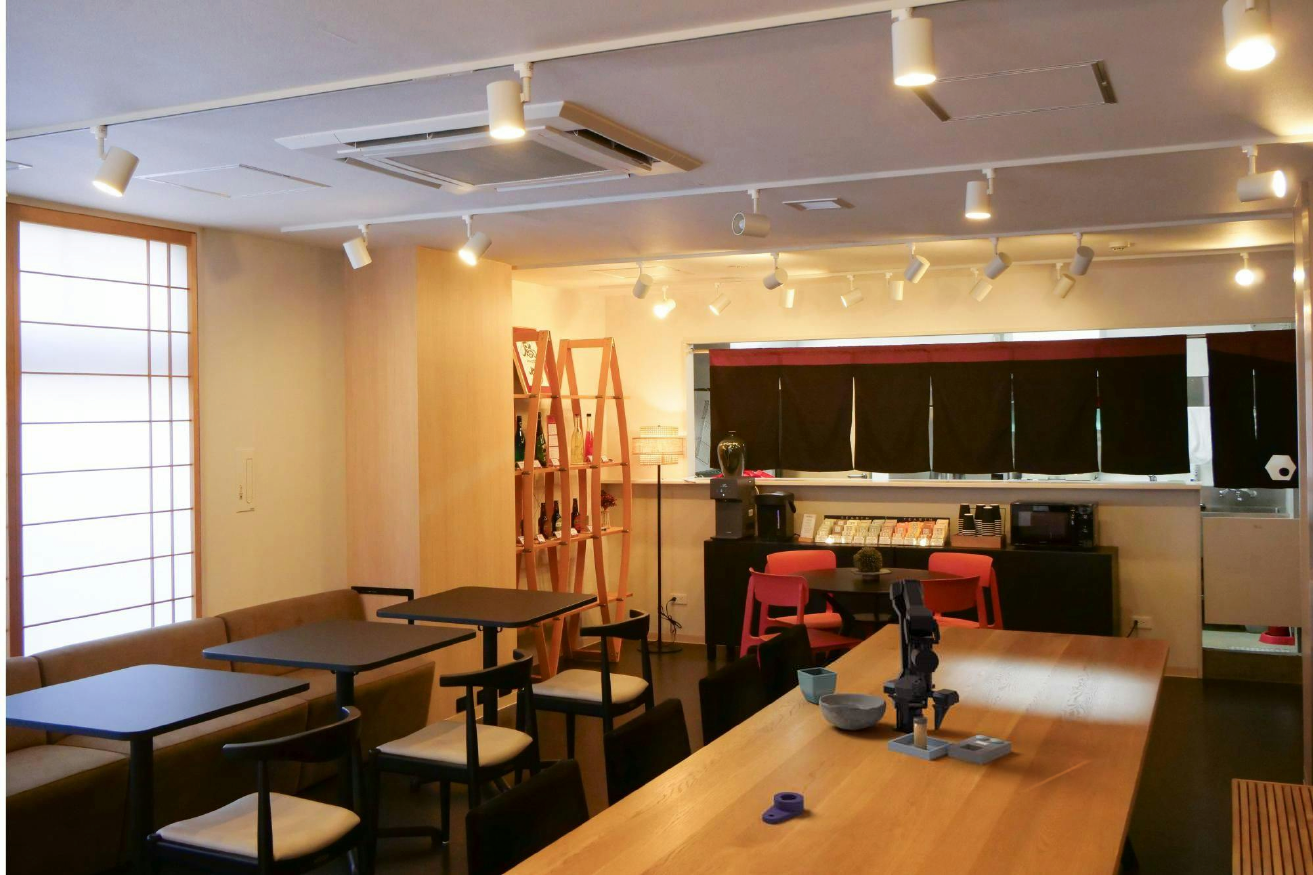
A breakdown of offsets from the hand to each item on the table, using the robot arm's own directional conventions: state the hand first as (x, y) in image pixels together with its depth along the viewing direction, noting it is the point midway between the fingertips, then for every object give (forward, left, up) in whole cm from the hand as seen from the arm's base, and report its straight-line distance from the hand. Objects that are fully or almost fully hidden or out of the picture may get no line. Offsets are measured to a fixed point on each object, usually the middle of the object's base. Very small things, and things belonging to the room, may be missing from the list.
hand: (920, 726), depth 265 cm
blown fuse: (0, 0, -6) cm, 6 cm away
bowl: (-25, +6, -7) cm, 27 cm away
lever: (+4, -58, -7) cm, 58 cm away
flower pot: (-49, +21, -7) cm, 54 cm away
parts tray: (0, 0, -6) cm, 6 cm away
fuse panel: (+12, +8, -6) cm, 16 cm away
